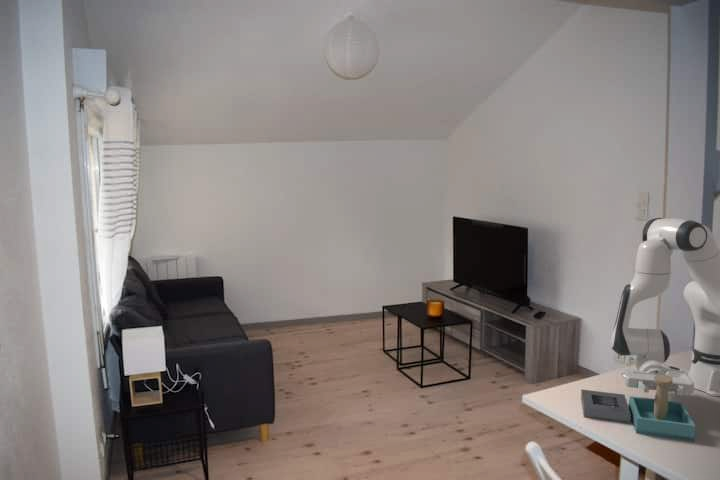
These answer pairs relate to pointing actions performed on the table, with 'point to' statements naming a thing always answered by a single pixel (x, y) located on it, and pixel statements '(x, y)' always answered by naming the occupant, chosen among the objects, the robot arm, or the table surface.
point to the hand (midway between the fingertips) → (662, 392)
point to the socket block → (605, 412)
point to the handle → (661, 396)
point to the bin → (673, 427)
